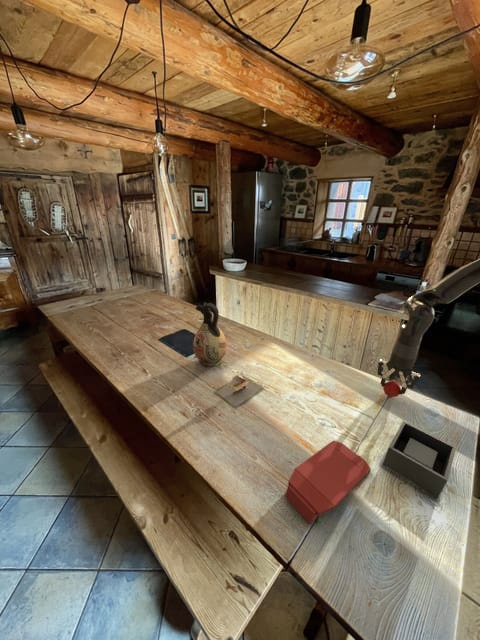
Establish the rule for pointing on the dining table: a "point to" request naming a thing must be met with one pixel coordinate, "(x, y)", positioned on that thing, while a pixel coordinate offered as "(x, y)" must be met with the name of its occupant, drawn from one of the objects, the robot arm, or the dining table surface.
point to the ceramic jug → (209, 337)
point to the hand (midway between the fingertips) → (391, 389)
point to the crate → (414, 470)
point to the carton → (325, 480)
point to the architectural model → (239, 390)
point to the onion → (392, 388)
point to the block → (420, 453)
